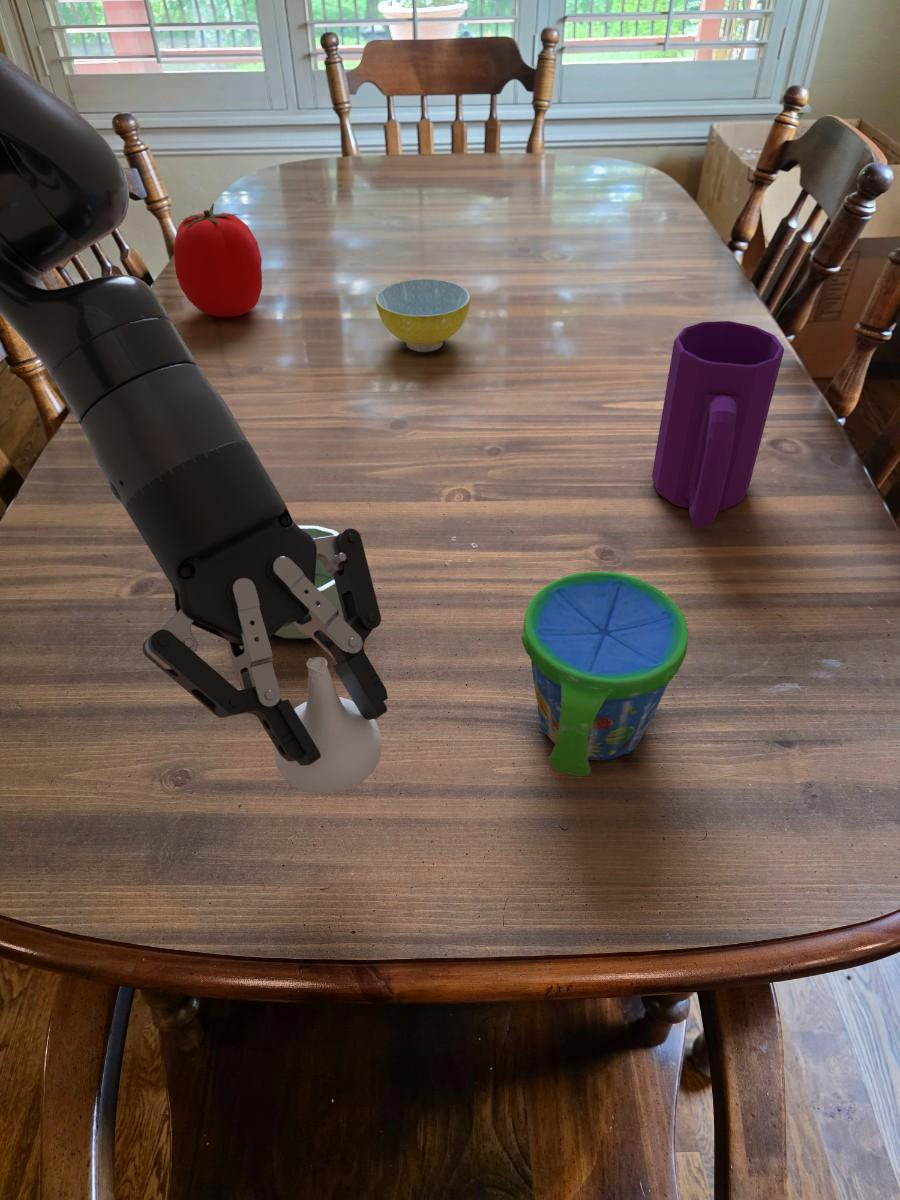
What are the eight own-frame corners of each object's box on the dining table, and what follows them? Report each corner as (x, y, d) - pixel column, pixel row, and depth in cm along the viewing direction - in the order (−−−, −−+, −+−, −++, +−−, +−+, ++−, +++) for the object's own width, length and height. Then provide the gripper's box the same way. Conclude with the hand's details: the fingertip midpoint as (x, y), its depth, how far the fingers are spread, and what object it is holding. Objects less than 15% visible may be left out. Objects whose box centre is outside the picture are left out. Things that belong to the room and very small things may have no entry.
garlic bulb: (283, 815, 50) (261, 724, 44) (273, 732, 54) (252, 641, 49) (391, 793, 51) (382, 702, 45) (373, 714, 55) (363, 622, 50)
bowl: (437, 317, 115) (436, 270, 111) (487, 349, 107) (488, 300, 103) (362, 339, 110) (358, 291, 106) (409, 374, 103) (407, 324, 99)
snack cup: (627, 837, 56) (648, 735, 49) (479, 778, 59) (479, 675, 52) (692, 676, 66) (717, 574, 59) (562, 634, 70) (572, 533, 63)
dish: (293, 659, 68) (284, 612, 65) (230, 605, 73) (218, 559, 70) (381, 605, 73) (377, 559, 69) (316, 557, 77) (309, 511, 74)
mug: (746, 466, 87) (781, 323, 77) (751, 563, 76) (793, 410, 66) (653, 457, 89) (676, 315, 79) (644, 550, 77) (670, 399, 67)
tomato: (236, 338, 111) (215, 232, 102) (164, 319, 116) (139, 216, 107) (291, 305, 118) (277, 203, 110) (222, 288, 123) (203, 190, 114)
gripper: (68, 504, 40) (258, 814, 42) (314, 398, 48) (468, 665, 49) (54, 544, 47) (219, 812, 48) (272, 445, 54) (410, 680, 55)
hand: (344, 736), depth 49 cm, fingers closed on garlic bulb, 4 cm apart
